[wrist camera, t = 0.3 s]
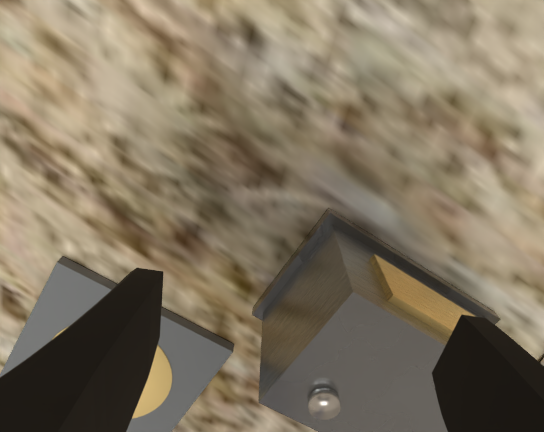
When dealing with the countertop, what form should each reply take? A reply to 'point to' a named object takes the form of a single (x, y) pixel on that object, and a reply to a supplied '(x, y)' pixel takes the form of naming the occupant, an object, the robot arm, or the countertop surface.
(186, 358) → the mat
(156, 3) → the countertop surface
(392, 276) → the unit
